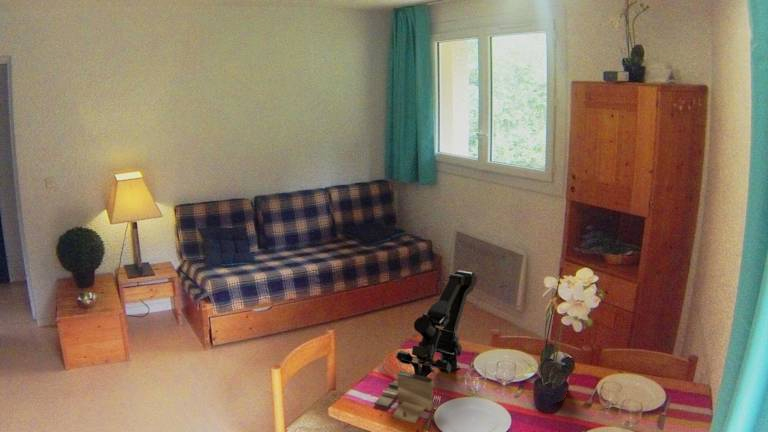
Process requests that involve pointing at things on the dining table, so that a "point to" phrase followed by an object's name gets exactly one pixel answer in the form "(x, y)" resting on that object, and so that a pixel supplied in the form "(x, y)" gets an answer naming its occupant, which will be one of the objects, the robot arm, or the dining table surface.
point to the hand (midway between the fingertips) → (416, 386)
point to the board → (388, 396)
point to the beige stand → (413, 396)
